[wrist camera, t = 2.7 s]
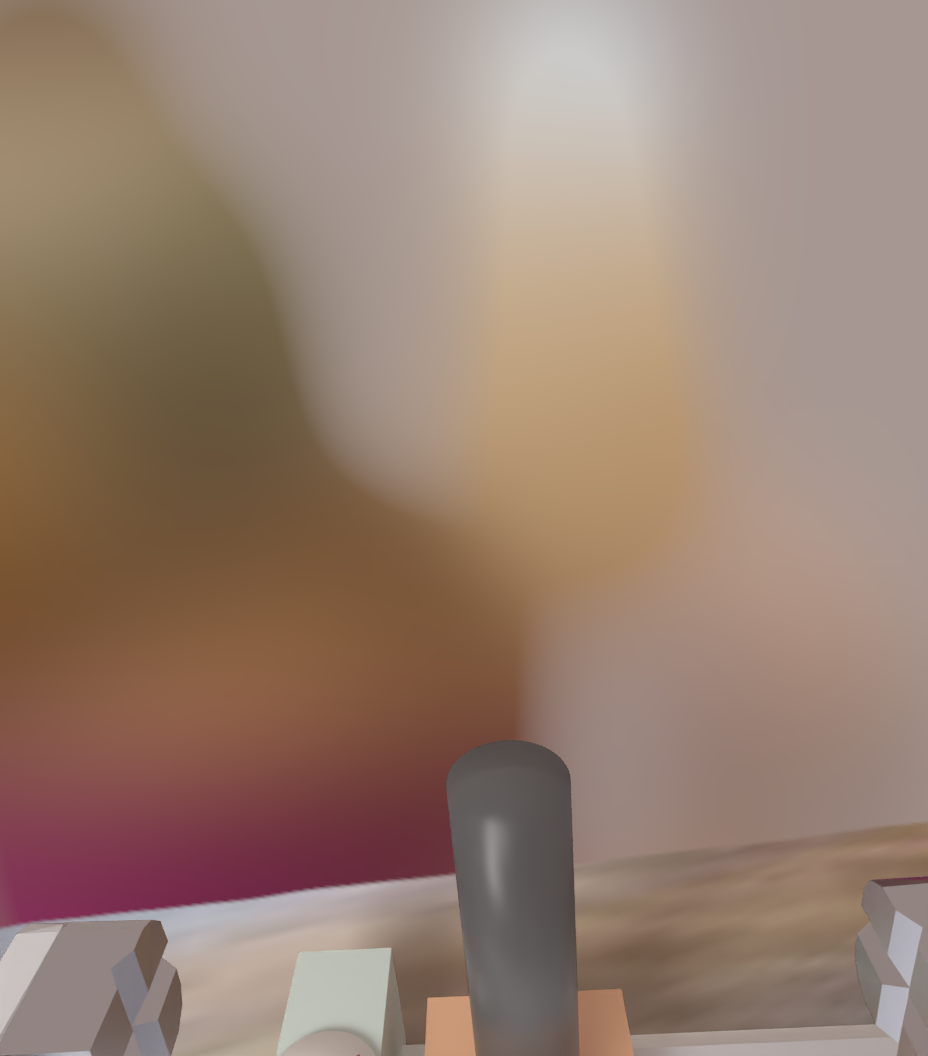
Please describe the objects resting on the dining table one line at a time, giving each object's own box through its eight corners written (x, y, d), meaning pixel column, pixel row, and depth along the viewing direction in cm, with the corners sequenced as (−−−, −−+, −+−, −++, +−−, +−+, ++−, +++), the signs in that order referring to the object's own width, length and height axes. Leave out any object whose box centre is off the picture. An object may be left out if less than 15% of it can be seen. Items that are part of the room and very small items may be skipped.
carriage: (419, 1296, 27) (350, 916, 20) (432, 1030, 35) (385, 696, 28) (668, 1288, 26) (683, 899, 20) (621, 1021, 35) (620, 682, 28)
